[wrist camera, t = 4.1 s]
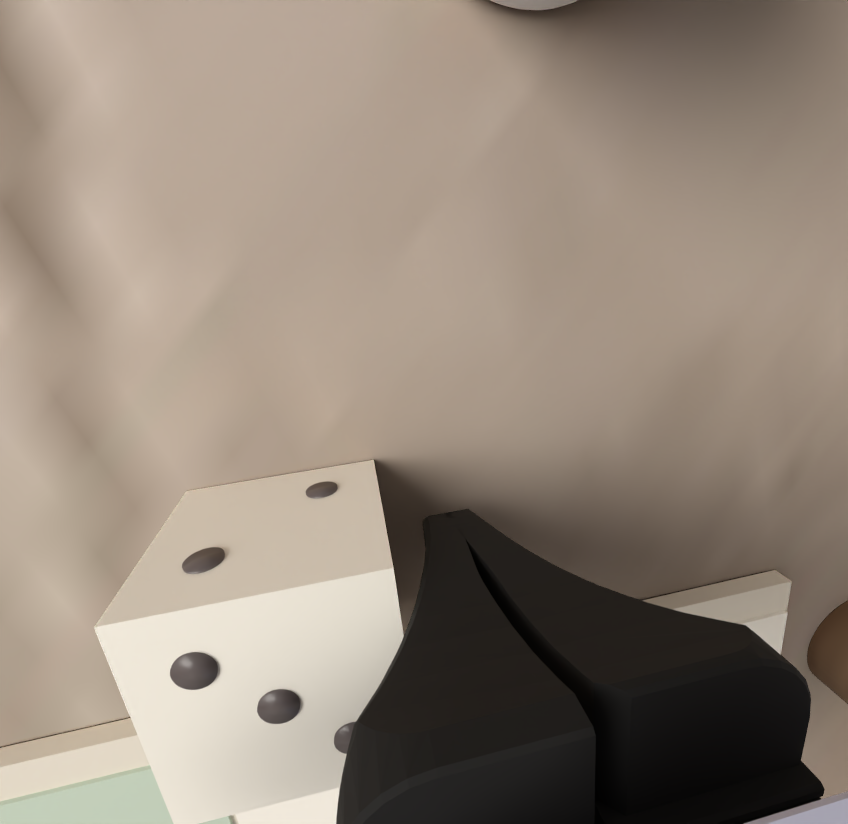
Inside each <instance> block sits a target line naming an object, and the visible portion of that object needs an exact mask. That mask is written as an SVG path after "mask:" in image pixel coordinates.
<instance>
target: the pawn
mask: <svg viewBox="0 0 848 824" xmlns="http://www.w3.org/2000/svg"><path fill="white" fill-rule="evenodd" d="M807 662H808V666H809V669H810V671H811V672H812V673H813V674H814V675H815V676H816V677H817V678H818V679H819V680H820V681H822V682H823V683H824V684H825V685H826V686H827V687H829V688H830V689H831V690H832V691H833V692H834V693H836V694H837V695H838V696H839V697H840V698H842V699H843V700H844V701H845V702H846V703H847V704H848V601H846V602H845V603H843V604H842V605H840V606H839V607H837V608H836V609H835V610H834V611H833V612H831V613H830V614H829V615H828V616H827V617H826V618H825V619H824V621H823V622H822V623H821V624H820V626H819V627H818V629H817V630H816V632H815V633H814V635H813V637H812V639H811V642H810V644H809V648H808V654H807Z"/></svg>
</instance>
